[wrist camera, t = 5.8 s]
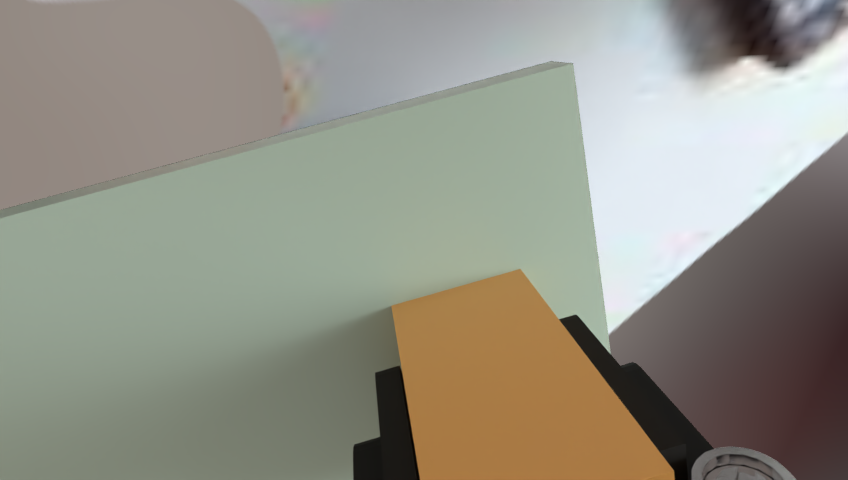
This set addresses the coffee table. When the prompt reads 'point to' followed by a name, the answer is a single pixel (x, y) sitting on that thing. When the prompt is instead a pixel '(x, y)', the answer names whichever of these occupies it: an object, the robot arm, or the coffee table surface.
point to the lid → (323, 303)
